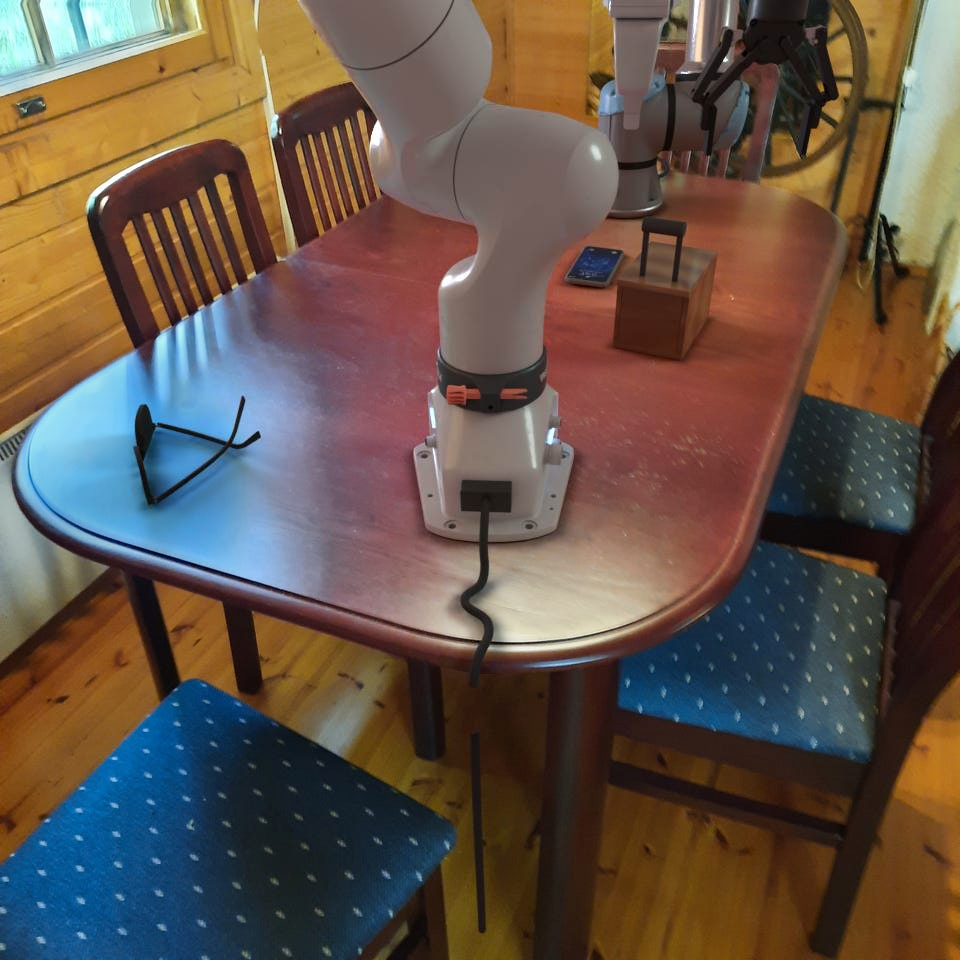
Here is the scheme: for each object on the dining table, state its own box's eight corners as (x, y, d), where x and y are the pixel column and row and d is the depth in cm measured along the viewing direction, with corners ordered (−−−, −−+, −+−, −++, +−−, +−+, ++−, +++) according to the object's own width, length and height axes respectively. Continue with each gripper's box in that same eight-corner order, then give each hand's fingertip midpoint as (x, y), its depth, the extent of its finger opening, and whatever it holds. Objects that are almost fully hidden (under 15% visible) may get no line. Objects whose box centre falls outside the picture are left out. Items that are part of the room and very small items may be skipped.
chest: (680, 360, 118) (689, 297, 113) (612, 346, 122) (617, 284, 116) (708, 318, 129) (717, 257, 123) (644, 306, 132) (650, 247, 127)
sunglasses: (270, 486, 97) (262, 449, 94) (137, 510, 94) (125, 474, 91) (257, 411, 110) (250, 377, 107) (140, 430, 107) (130, 396, 104)
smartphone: (626, 249, 148) (607, 284, 137) (625, 255, 149) (607, 289, 137) (584, 244, 150) (562, 278, 139) (584, 249, 151) (562, 283, 139)
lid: (688, 298, 112) (697, 232, 107) (616, 285, 116) (621, 220, 111) (717, 257, 123) (726, 195, 118) (650, 246, 127) (656, 186, 121)
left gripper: (619, -25, 105) (612, 95, 113) (608, 2, 89) (600, 140, 97) (672, -26, 104) (661, 96, 112) (670, 2, 88) (657, 141, 96)
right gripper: (690, -9, 109) (671, 161, 122) (888, -13, 108) (848, 159, 121) (680, -17, 115) (664, 146, 128) (868, -21, 114) (832, 143, 127)
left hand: (633, 117), depth 104 cm, fingers open, 8 cm apart
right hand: (753, 152), depth 125 cm, fingers open, 13 cm apart
